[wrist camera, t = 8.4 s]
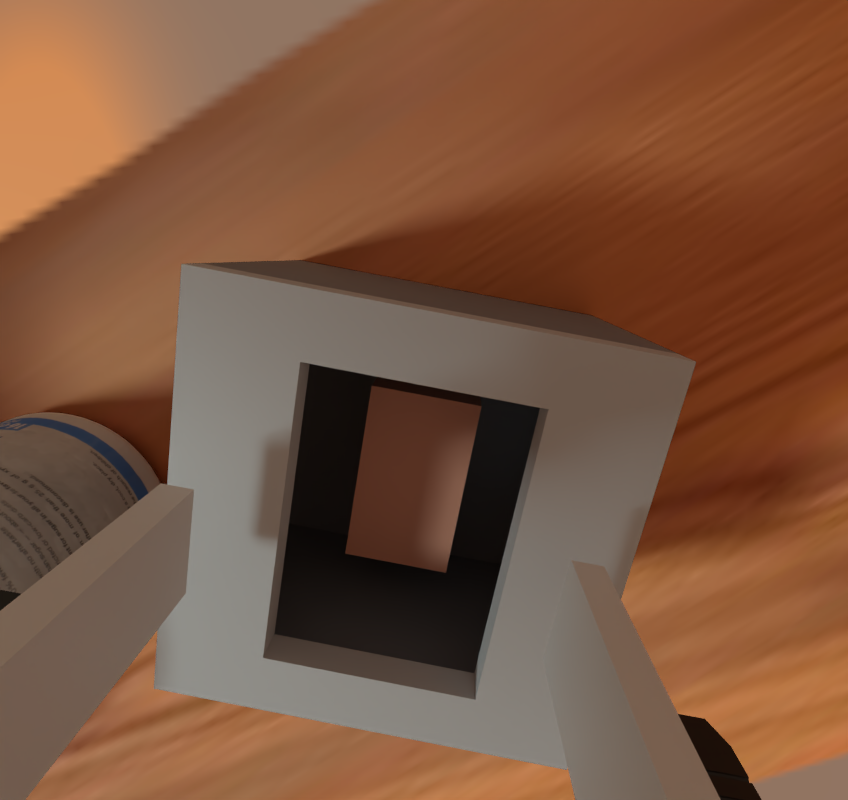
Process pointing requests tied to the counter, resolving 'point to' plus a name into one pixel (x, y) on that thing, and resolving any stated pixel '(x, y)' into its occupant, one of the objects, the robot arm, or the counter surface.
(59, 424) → the supplement tub
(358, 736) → the counter surface
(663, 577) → the counter surface
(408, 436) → the block
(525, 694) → the box
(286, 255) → the counter surface
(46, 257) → the counter surface
